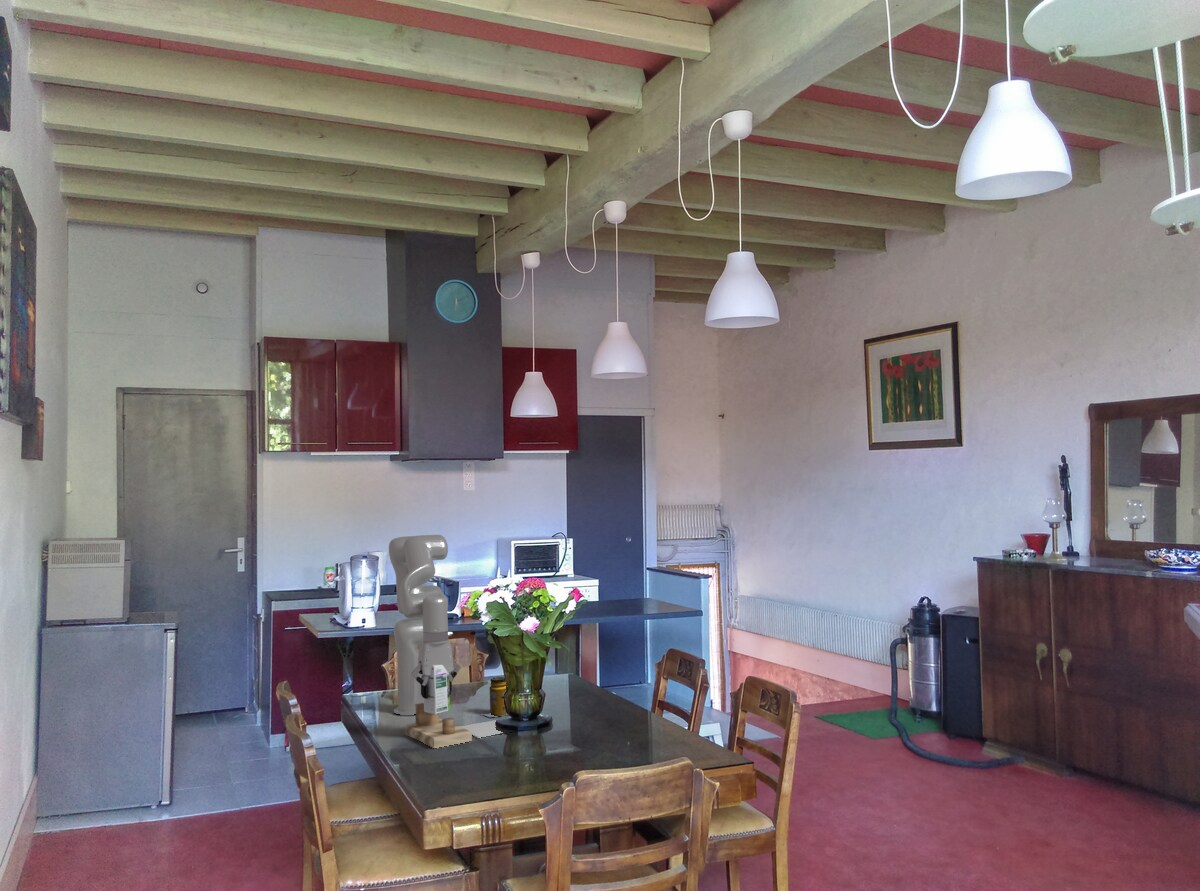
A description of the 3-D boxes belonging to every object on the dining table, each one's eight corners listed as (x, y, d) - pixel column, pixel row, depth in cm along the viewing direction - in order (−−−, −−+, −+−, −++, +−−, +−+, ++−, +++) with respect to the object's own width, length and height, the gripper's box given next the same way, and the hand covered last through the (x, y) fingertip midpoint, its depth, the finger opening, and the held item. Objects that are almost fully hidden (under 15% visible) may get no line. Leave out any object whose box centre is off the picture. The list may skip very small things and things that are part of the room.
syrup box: (435, 714, 281) (434, 666, 282) (423, 712, 285) (422, 663, 286) (450, 711, 285) (449, 662, 286) (438, 708, 289) (437, 660, 290)
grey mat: (455, 729, 295) (455, 727, 295) (501, 721, 304) (501, 719, 304) (478, 738, 281) (478, 736, 281) (525, 730, 290) (524, 728, 290)
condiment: (513, 715, 312) (512, 678, 313) (490, 719, 307) (489, 681, 308) (503, 711, 318) (502, 675, 319) (480, 715, 313) (479, 678, 314)
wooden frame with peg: (405, 734, 290) (404, 705, 290) (441, 728, 296) (440, 699, 297) (434, 748, 271) (433, 717, 272) (471, 741, 278) (471, 711, 279)
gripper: (456, 632, 294) (457, 689, 293) (403, 638, 284) (404, 698, 284) (466, 635, 288) (467, 694, 287) (413, 642, 278) (414, 702, 277)
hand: (436, 695), depth 285 cm, fingers closed on syrup box, 6 cm apart
